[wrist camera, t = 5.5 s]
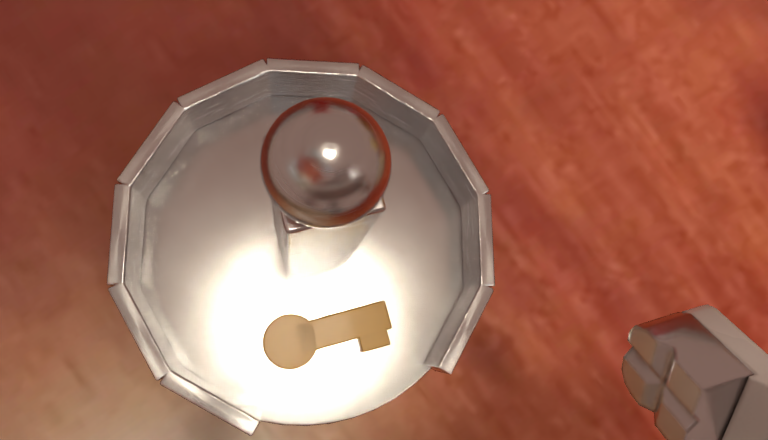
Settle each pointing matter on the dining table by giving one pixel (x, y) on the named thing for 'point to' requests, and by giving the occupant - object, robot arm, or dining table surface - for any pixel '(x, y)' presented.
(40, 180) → the dining table surface
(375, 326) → the brass key
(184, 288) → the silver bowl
